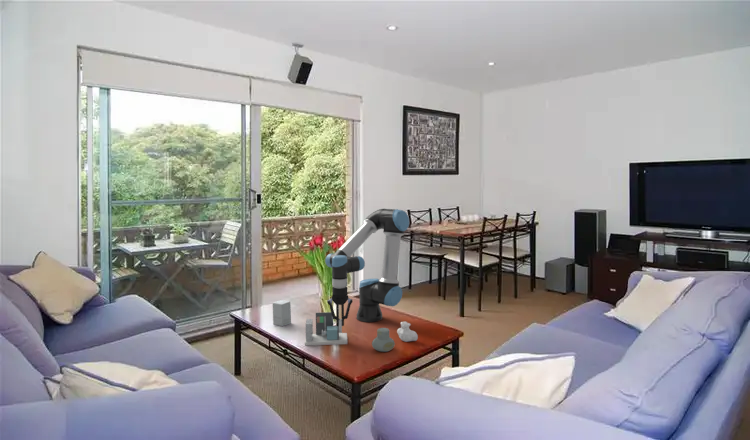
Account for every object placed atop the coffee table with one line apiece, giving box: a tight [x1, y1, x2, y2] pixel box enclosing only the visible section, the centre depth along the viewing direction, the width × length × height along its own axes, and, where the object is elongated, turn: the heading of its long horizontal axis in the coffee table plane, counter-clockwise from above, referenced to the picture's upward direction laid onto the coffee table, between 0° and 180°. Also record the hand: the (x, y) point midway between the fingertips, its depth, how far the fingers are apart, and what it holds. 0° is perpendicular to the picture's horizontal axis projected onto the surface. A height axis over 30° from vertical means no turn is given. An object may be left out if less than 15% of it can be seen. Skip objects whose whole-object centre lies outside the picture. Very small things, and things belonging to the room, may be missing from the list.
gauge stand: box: [304, 311, 348, 347], centre depth 232 cm, size 21×12×13 cm, turn 95°
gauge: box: [322, 324, 339, 340], centre depth 232 cm, size 9×8×10 cm
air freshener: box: [371, 327, 396, 353], centre depth 220 cm, size 11×8×10 cm
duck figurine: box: [396, 321, 419, 343], centre depth 232 cm, size 12×8×11 cm
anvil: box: [305, 318, 314, 342], centre depth 231 cm, size 3×8×9 cm, turn 5°
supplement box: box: [272, 299, 292, 327], centre depth 259 cm, size 7×7×13 cm
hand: (340, 332), depth 232 cm, fingers closed
